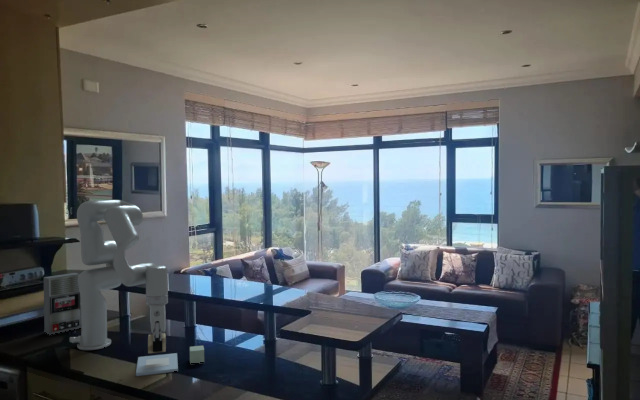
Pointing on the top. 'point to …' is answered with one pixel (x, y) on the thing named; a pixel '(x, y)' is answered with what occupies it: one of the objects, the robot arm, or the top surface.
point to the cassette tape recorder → (62, 303)
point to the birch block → (150, 343)
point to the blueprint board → (157, 364)
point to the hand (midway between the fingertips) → (157, 347)
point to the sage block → (196, 354)
